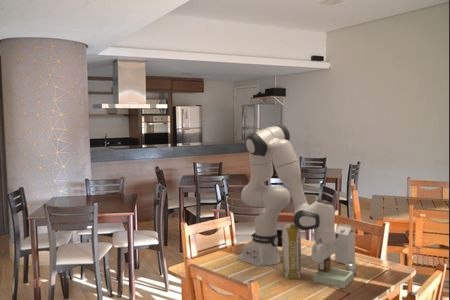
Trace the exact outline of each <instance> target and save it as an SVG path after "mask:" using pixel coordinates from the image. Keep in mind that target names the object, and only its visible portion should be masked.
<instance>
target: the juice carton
mask: <svg viewBox="0 0 450 300" xmlns="http://www.w3.org/2000/svg"><path fill="white" fill-rule="evenodd" d="M282 226H283V230H282V247H281V252H282V256H281V257H282V260H281V261H282V269H283V270H282V271H283V273H284V276H285V278H286V279H300V278H301V274H302V243H301V242H302V239H301V237H302V236H301V232H300V231H301V229H299V228H297V227H296V226H295V224H290V223H286V224H283V225H282Z"/></svg>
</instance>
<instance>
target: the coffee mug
mask: <svg viewBox="0 0 450 300" xmlns="http://www.w3.org/2000/svg"><path fill="white" fill-rule="evenodd" d="M283 226H284V225H277V234H278V245H277V246H278V248H280V247H281V248H282V230H283Z"/></svg>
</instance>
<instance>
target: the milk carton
mask: <svg viewBox="0 0 450 300" xmlns="http://www.w3.org/2000/svg"><path fill="white" fill-rule="evenodd" d="M335 232H336V233H338V234H339V237H338V238H337V239H338V247H337V252H336V253H334V257H335V259H334V260H335V261H334V262H336V263H339V264H344V265H346V263H347V262H353V263H355V261H356V239H355V238H356V231H355V230H354V229H353V227H352V225H350V224H344V223H339V222H338V224H337V228H336V229H335Z"/></svg>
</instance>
